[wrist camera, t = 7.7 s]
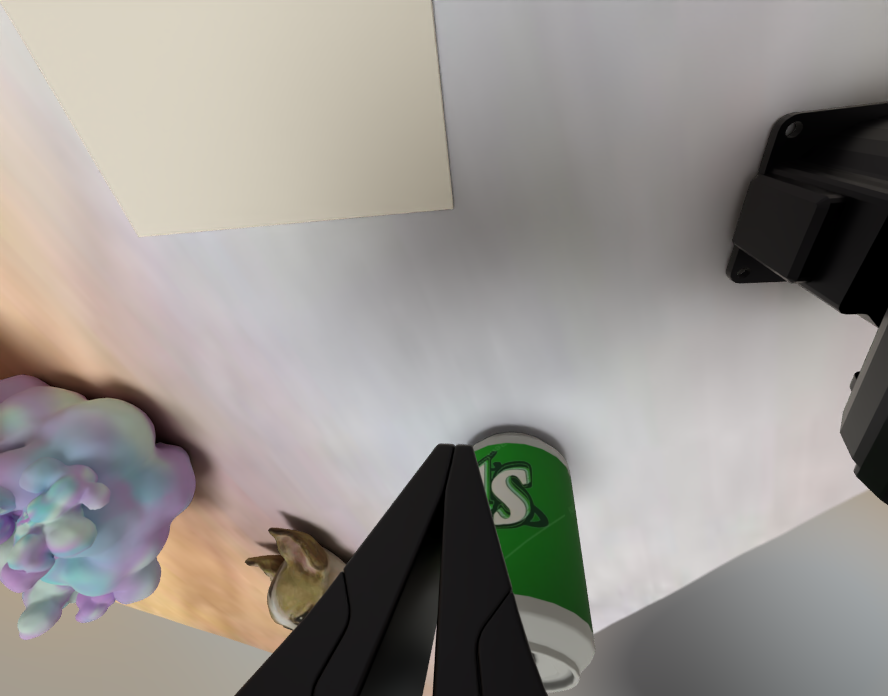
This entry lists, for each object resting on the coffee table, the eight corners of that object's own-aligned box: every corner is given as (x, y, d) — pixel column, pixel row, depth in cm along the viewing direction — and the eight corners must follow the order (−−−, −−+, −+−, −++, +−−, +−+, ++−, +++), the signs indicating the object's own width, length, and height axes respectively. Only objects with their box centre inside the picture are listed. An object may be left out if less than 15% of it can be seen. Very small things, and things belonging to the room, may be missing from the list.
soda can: (564, 420, 24) (598, 647, 14) (571, 491, 28) (601, 707, 18) (452, 426, 26) (414, 629, 16) (473, 491, 30) (453, 686, 20)
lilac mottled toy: (217, 575, 37) (-15, 813, 19) (16, 540, 37) (-386, 735, 20) (236, 376, 35) (3, 432, 17) (26, 345, 36) (-400, 367, 18)
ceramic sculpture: (337, 686, 38) (204, 623, 35) (368, 595, 45) (260, 538, 43) (383, 669, 32) (229, 592, 30) (410, 568, 39) (288, 500, 37)
